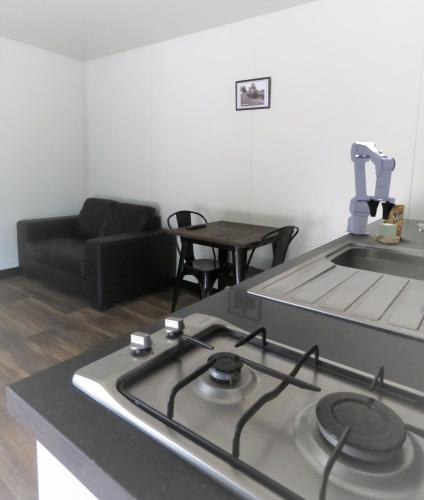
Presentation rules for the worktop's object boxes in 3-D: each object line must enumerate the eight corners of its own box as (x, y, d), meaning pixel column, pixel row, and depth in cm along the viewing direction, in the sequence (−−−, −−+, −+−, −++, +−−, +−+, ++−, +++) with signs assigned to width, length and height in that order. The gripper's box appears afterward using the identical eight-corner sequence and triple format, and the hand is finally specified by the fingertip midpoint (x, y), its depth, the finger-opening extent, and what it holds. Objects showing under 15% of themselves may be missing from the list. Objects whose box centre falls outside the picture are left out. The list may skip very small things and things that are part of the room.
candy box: (388, 238, 173) (393, 205, 170) (381, 236, 177) (384, 204, 174) (401, 237, 177) (405, 204, 174) (393, 235, 181) (397, 203, 178)
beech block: (374, 241, 168) (375, 234, 167) (388, 240, 169) (388, 234, 169) (384, 244, 161) (385, 237, 161) (398, 243, 163) (399, 237, 162)
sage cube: (377, 234, 166) (379, 223, 165) (387, 234, 168) (388, 223, 167) (386, 236, 162) (387, 225, 161) (395, 236, 163) (397, 225, 162)
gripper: (363, 185, 168) (360, 216, 170) (386, 187, 154) (382, 220, 157) (376, 185, 169) (373, 215, 172) (401, 187, 156) (396, 220, 159)
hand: (378, 218), depth 165 cm, fingers open, 7 cm apart
